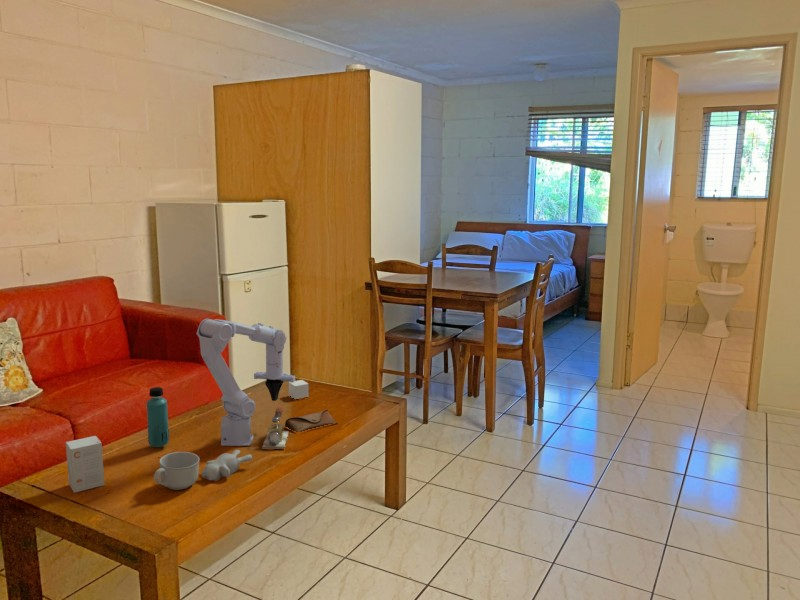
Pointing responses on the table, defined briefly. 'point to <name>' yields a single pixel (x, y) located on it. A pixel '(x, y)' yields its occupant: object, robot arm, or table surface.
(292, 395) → the white cube
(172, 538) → the table surface
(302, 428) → the sunglasses case
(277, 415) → the valve lever
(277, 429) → the valve pipe
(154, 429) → the beverage bottle
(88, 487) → the small box
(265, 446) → the mounting board
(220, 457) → the bunny figurine
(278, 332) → the robot arm
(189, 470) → the teacup
